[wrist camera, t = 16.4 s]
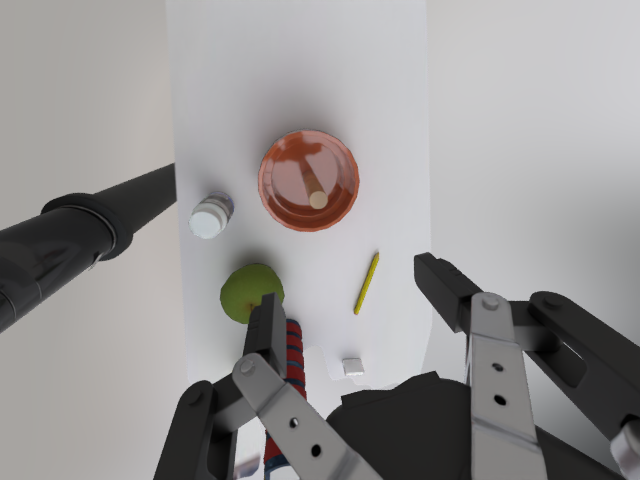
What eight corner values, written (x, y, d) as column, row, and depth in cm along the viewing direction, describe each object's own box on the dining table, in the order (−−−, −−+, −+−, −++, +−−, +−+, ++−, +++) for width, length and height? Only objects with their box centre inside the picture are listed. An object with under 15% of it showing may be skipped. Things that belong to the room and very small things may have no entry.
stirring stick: (304, 185, 38) (311, 211, 27) (300, 172, 37) (307, 193, 26) (317, 182, 38) (329, 206, 27) (314, 169, 37) (325, 188, 26)
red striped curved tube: (272, 317, 51) (262, 466, 29) (303, 318, 52) (316, 461, 30) (267, 386, 62) (257, 532, 40) (293, 385, 63) (296, 526, 41)
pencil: (357, 311, 53) (358, 315, 52) (353, 311, 53) (354, 314, 52) (380, 250, 46) (382, 253, 45) (375, 249, 46) (377, 252, 45)
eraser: (359, 361, 62) (363, 374, 59) (342, 362, 62) (345, 376, 58) (360, 358, 62) (364, 371, 59) (343, 359, 61) (346, 372, 58)
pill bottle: (218, 223, 39) (203, 247, 32) (198, 201, 37) (176, 221, 30) (241, 209, 39) (230, 230, 31) (221, 185, 37) (205, 202, 29)
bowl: (277, 226, 41) (276, 241, 36) (248, 141, 34) (242, 145, 29) (354, 206, 41) (364, 218, 36) (341, 118, 35) (351, 118, 29)
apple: (263, 241, 42) (257, 273, 33) (295, 279, 47) (297, 315, 38) (216, 270, 44) (198, 308, 35) (251, 303, 48) (244, 344, 40)
